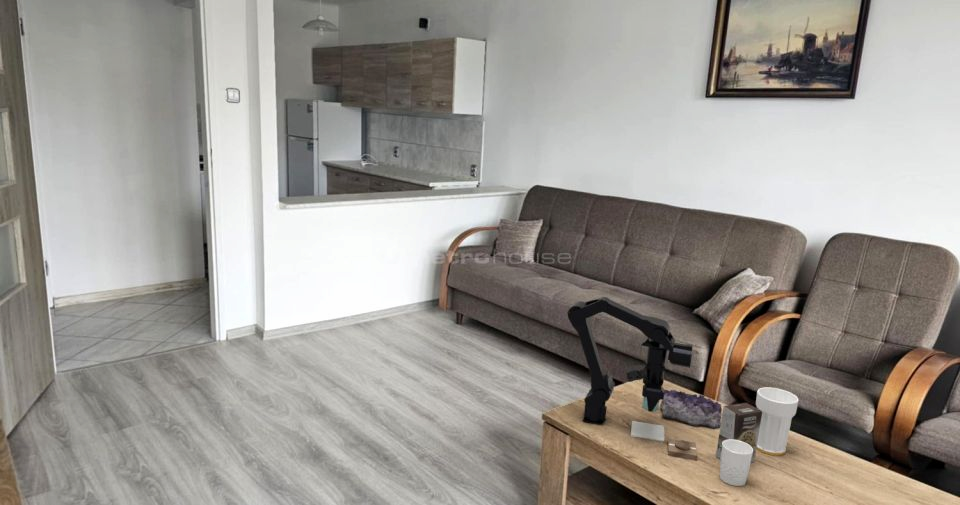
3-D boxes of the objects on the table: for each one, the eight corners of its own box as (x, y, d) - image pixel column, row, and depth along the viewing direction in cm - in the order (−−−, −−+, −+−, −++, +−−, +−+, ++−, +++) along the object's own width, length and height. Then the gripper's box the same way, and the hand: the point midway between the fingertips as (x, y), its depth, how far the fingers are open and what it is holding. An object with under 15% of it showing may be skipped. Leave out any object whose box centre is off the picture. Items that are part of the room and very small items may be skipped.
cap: (640, 409, 195) (642, 395, 194) (641, 403, 199) (642, 389, 198) (659, 412, 194) (661, 398, 193) (659, 406, 198) (661, 392, 197)
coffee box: (730, 467, 180) (738, 415, 176) (714, 455, 186) (722, 405, 182) (755, 462, 183) (763, 411, 180) (738, 451, 189) (746, 401, 186)
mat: (630, 436, 195) (630, 434, 195) (631, 421, 204) (632, 420, 204) (664, 441, 192) (664, 440, 192) (663, 427, 202) (663, 426, 202)
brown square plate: (668, 455, 184) (669, 447, 184) (667, 442, 192) (668, 434, 191) (696, 460, 182) (697, 452, 182) (695, 447, 190) (696, 439, 189)
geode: (722, 419, 210) (727, 393, 207) (718, 437, 200) (723, 411, 197) (660, 402, 219) (664, 377, 215) (653, 419, 209) (657, 393, 205)
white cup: (750, 489, 169) (756, 455, 167) (719, 485, 170) (724, 451, 168) (744, 474, 177) (749, 441, 175) (715, 469, 178) (719, 437, 176)
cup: (789, 444, 195) (798, 392, 191) (789, 461, 185) (799, 406, 181) (749, 435, 199) (757, 384, 196) (748, 451, 189) (756, 397, 186)
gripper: (630, 347, 204) (625, 391, 207) (627, 367, 186) (622, 416, 190) (665, 352, 201) (660, 397, 205) (666, 373, 184) (660, 422, 187)
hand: (650, 407), depth 197 cm, fingers closed on cap, 5 cm apart
